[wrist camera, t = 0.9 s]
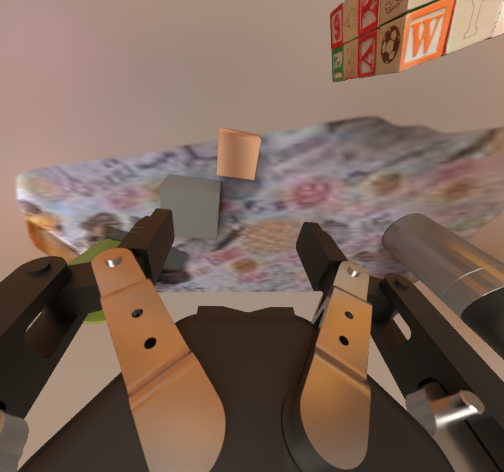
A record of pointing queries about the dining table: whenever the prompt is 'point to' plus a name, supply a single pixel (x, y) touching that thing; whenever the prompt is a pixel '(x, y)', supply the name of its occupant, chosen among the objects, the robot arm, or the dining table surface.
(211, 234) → the grey base block
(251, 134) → the terracotta cube
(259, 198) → the dining table surface
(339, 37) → the stack of blocks
